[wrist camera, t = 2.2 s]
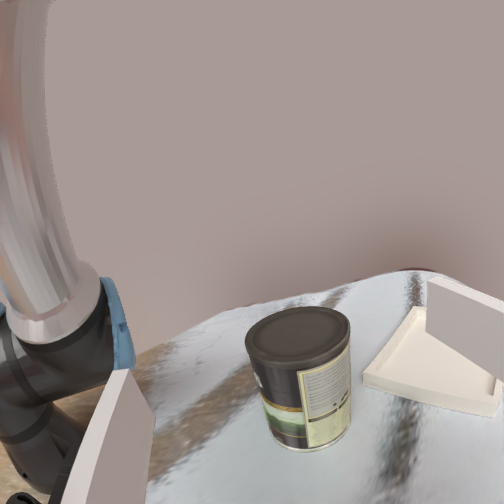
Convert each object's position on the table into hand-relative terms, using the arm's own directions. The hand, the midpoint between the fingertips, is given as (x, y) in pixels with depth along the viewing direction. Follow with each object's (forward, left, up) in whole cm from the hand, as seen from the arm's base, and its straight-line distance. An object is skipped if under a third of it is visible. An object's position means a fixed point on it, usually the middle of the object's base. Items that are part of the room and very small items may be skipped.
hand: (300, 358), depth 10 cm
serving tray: (+2, +29, -21) cm, 36 cm away
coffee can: (-10, +10, -21) cm, 26 cm away
